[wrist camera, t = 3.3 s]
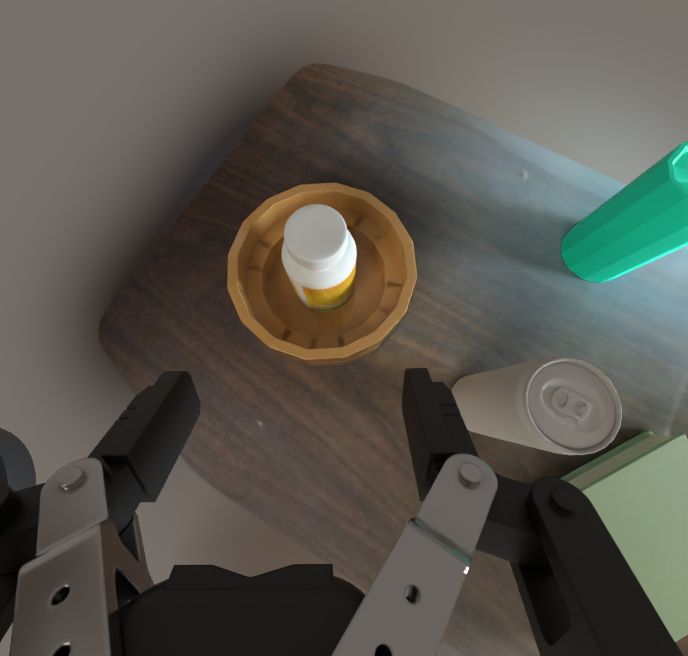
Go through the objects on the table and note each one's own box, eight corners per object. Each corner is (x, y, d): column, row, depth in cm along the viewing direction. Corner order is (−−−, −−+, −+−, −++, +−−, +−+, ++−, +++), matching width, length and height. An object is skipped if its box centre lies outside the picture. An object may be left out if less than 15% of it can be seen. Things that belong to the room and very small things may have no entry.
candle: (590, 294, 29) (756, 222, 17) (547, 244, 30) (673, 144, 18) (639, 261, 29) (831, 170, 18) (595, 213, 31) (747, 97, 19)
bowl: (285, 394, 27) (271, 393, 22) (224, 254, 30) (200, 226, 25) (433, 322, 28) (451, 306, 24) (361, 194, 32) (363, 156, 27)
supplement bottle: (284, 290, 29) (253, 238, 20) (321, 248, 30) (308, 178, 20) (330, 325, 28) (321, 288, 19) (366, 280, 29) (375, 223, 20)
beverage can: (490, 443, 26) (605, 478, 14) (437, 414, 27) (506, 424, 15) (513, 391, 27) (638, 384, 15) (461, 364, 28) (544, 337, 16)
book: (587, 641, 23) (622, 676, 20) (511, 504, 25) (533, 518, 22) (730, 553, 24) (782, 574, 21) (646, 429, 26) (684, 433, 23)
